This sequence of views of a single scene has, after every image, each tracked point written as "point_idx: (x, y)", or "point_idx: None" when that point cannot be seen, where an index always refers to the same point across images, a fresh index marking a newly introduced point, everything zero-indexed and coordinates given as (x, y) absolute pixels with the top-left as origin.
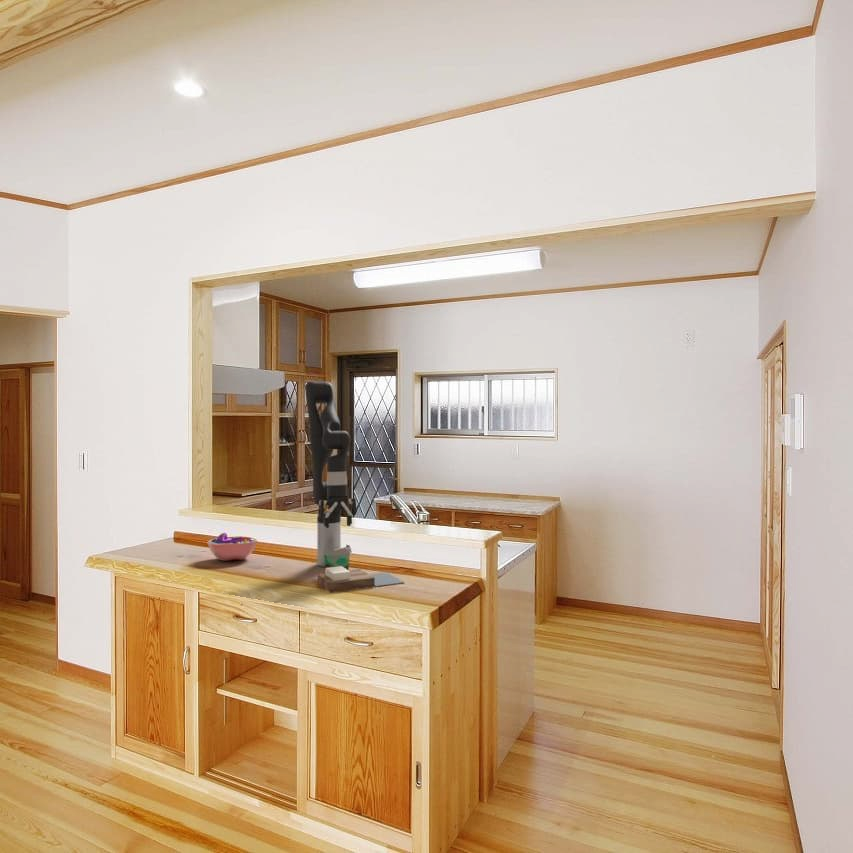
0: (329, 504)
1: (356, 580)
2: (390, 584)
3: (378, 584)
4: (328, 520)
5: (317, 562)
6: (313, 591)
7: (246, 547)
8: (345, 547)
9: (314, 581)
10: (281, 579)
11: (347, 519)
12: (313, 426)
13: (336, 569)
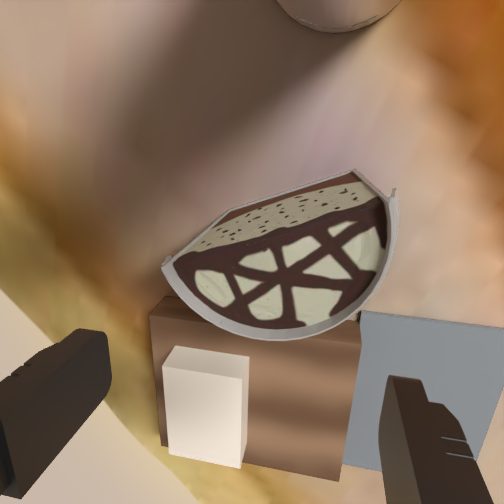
0: None
1: (261, 464)
2: None
3: (356, 456)
4: (45, 464)
5: None
6: (125, 383)
7: None
8: (362, 224)
9: (155, 274)
10: (31, 168)
11: (399, 474)
12: None
13: (199, 413)
